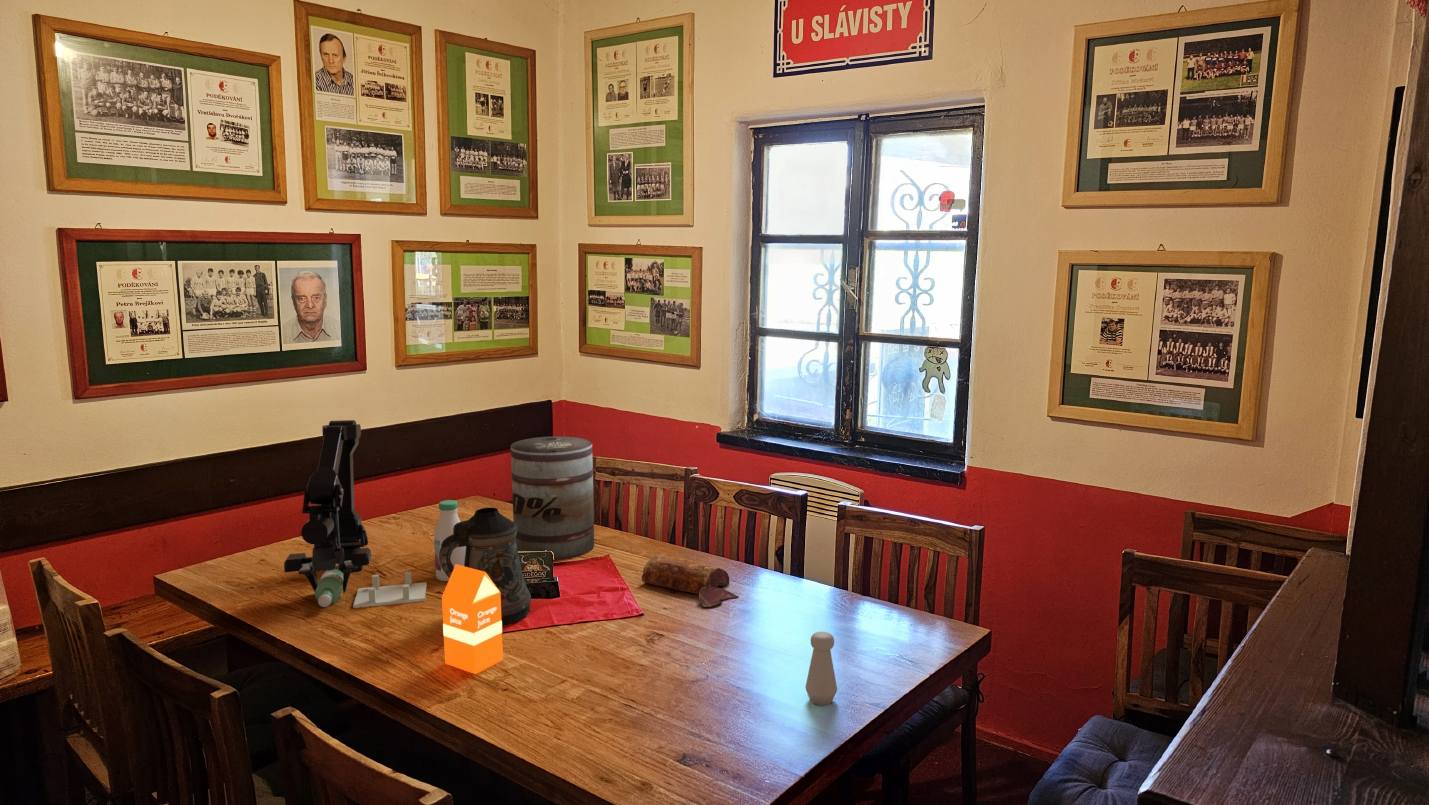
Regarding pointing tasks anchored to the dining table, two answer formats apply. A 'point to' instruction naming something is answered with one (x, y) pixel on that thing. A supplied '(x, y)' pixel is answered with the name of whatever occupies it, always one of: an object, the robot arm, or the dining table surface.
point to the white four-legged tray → (390, 593)
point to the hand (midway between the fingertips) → (330, 593)
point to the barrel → (553, 495)
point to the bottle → (329, 587)
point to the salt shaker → (821, 670)
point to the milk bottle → (443, 531)
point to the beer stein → (491, 558)
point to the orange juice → (471, 620)
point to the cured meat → (688, 578)
